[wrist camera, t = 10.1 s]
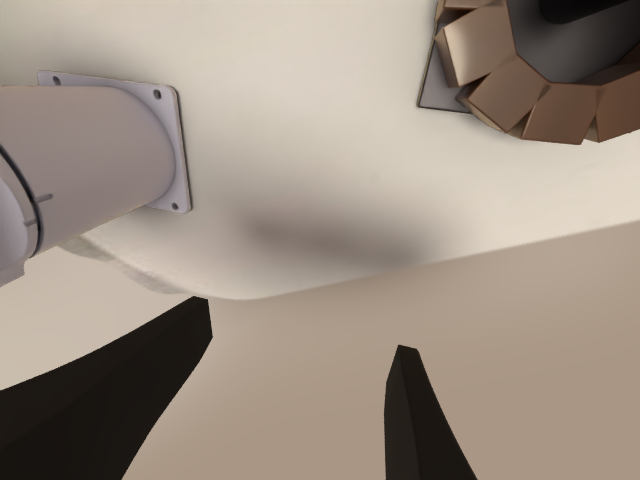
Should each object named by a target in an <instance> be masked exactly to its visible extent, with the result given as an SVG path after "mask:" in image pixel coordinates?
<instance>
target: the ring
mask: <svg viewBox="0 0 640 480" xmlns="http://www.w3.org/2000/svg"><path fill="white" fill-rule="evenodd" d="M435 22H436V23H449V24H447V25H445V26H444V27H443V28H442V29H441V30H440V31H439V33H438V34H437V35H436V37H435V42H436V46H437V49H438V53H439V57H440V60H441V64H442V68H443V71H444V75H445V79H446V82H447V86H448V88H460V87H462V86H464V85H465V86H464V87H463V89H462V90H461V91H460V92H459V93H458V94H457V96H456V97H455V98H456V100H457V101H459V102H460V103H461V104H462V105H463V106H465V107H466V108H467V109H468V110H470V111H471V112H472V113H473V114H474V115H476V116H477V117H478V118H479V119H480V120H482V121H483V122H484V123H485V124H486V125H488V126H489V127H492V128H494V129H497V130H499V131H502V132H504V133H507V134H509V135H512V136H514V137H517V138H519V139H522V140H532V141H542V142H552V143H562V144H572V145H581V143H582V142H583V139H587V140H590V141H594V142H598V143H600V142H603V141H606V140H609V139H612V138H615V137H618V136H621V135H624V134H627V133H629V132H632V131H635V130H638V129H640V43H639V44H638V45H637V46H636V47H635V48H634V49H633V50H631V51H630V52H629V53H628V54H627V55H626V56H625V57H624V58H623V59H622V60H621V61H620V62H618V63H617V64H616V65H614V66H612V67H610V68H607V69H605V70H602V71H600V72H597V73H595V74H593V75H590V76H588V77H585V78H583V79H581V80H578V81H576V82H573V83H563V82H550V81H548V80H547V79H546V78H545V77H544V76H543V75H542V74H540V73H539V72H538V71H537V70H536V69H535V68H534V67H532V66H531V65H530V64H529V63H528V62H527V61H525V60H524V59H523V58H522V57H521V56H520V55H519V54H517V52H516V46H515V41H514V36H513V30H512V25H511V20H510V14H509V9H508V4H507V0H439V2H438V6H437V11H436V16H435Z"/></svg>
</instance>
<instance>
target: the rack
mask: <svg viewBox="0 0 640 480" xmlns="http://www.w3.org/2000/svg"><path fill="white" fill-rule="evenodd" d="M507 4H508V9H509V14H510V20H511V25H512V30H513V36H514V41H515V46H516V52H517V54H519V55H520V56H521V57H522V58H523V59H524V60H525V61H527V62H528V63H529V64H530V65H531V66H532V67H534V68H535V69H536V70H537V71H538V72H539V73H540V74H542V75H543V76H544V77H545V78H546V79H547V80H548V81H550V82H563V83H573V82H576V81H578V80H581V79H583V78H585V77H588V76H590V75H593V74H595V73H597V72H600V71H602V70H605V69H607V68H610V67H612V66H614V65H616V64H617V63H618V62H620V61H621V60H622V59H623V58H624V57H625V56H626V55H627V54H628V53H629V52H630V51H631V50H633V49H634V48H635V47H636V46H637V45H638V44H639V43H640V0H507ZM447 24H449V23H436V26H435V30H434V35H433V39H432V43H431V47H430V51H429V55H428V60H427V64H426V68H425V72H424V76H423V81H422V85H421V89H420V93H419V97H418V101H417V106H418V107H419V108H427V109H435V110H443V111H452V112H460V113H468V114H473V113H472V112H471V111H470V110H468V109H467V108H466V107H465V106H463V105H462V104H461V103H460V102H459V101H457V100H456V98H455V97H456V96H457V94H458V93H459V92H460V91H461V90H462V89H463V87H464V86H465V85H464V86H462V87H460V88H448V86H447V82H446V79H445V75H444V71H443V68H442V64H441V60H440V57H439V53H438V49H437V46H436V42H435V37H436V35H437V34H438V33H439V31H440V30H441V29H442V28H443V27H444V26H445V25H447ZM629 133H631V132H629Z"/></svg>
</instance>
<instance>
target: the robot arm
mask: <svg viewBox="0 0 640 480" xmlns="http://www.w3.org/2000/svg"><path fill="white" fill-rule="evenodd" d="M37 79H38V82H39V85H40V86H0V287H1V286H3V285H5V284H7V283H9V282H11V281H13V280H15V279H17V278H19V277H21V276H23V275H24V262H25V261H26V260H27V259H28V258H31V257H33V256H35V255H37V254H39V253H42V252H44V251H46V250H48V249H50V248H53V247H55V246H57V245H59V244H61V243H63V242H65V241H68V240H70V239H72V238H74V237H76V236H78V235H80V234H83V233H85V232H87V231H89V230H91V229H93V228H95V227H98V226H100V225H102V224H104V223H106V222H108V221H110V220H113V219H115V218H117V217H119V216H121V215H123V214H125V213H128V212H130V211H132V210H134V209H136V208H138V207H140V206H146V207H151V208H156V209H161V210H166V211H171V212H176V213H181V214H186V213H188V212H189V211H190V210H191V204H190V196H189V188H188V181H187V173H186V165H185V157H184V149H183V142H182V134H181V126H180V118H179V111H178V103H177V96H176V93H175V91H174V89H173V88H171V87H170V86H165V85H158V84H150V83H142V82H134V81H126V80H118V79H111V78H103V77H95V76H87V75H79V74H72V73H64V72H56V71H48V70H39V71H38V72H37ZM158 91H160V92H161V98H160V97H159V95H158ZM175 203H176V204H177V205H178V207H177V206H176V204H175ZM212 338H213V336H212V328H211V320H210V313H209V305H208V299H204V298H200V297H196V296H193V297H191V298H189V299H187V300H185V301H184V302H182V303H180V304H178V305H177V306H175V307H173V308H172V309H170V310H168V311H166V312H165V313H163V314H161V315H160V316H158V317H156V318H154V319H153V320H151V321H149V322H147V323H146V324H144V325H142V326H140V327H139V328H137V329H135V330H133V331H131V332H130V333H128V334H126V335H124V336H122V337H120V338H118V339H116V340H114V341H113V342H111V343H109V344H107V345H105V346H103V347H101V348H100V349H97V350H95V351H93V352H91V353H89V354H87V355H85V356H83V357H81V358H79V359H76V360H74V361H72V362H69V363H68V364H65V365H63V366H61V367H58V368H56V369H54V370H51V371H49V372H46V373H44V374H42V375H39V376H36V377H34V378H32V379H29V380H26V381H24V382H21V383H19V384H16V385H14V386H11V387H9V388H6V389H4V390H0V480H121V479H122V478H123V476H124V474H125V473H126V470H127V469H128V467H129V466H130V464H131V462H132V460H133V459H134V457H135V455H136V454H137V452H138V450H139V449H140V447H141V445H142V444H143V442H144V440H145V439H146V437H147V435H148V434H149V432H150V431H151V429H152V428H153V426H154V425H155V423H156V422H157V420H158V418H159V417H160V416H161V415H162V413H163V412H164V410H165V409H166V408H167V406H168V405H169V403H170V402H171V401H172V399H173V398H174V397H175V395H176V394H177V392H178V391H179V389H180V388H181V387H182V385H183V384H184V383H185V381H186V380H187V379H188V377H189V376H190V374H191V373H192V371H193V370H194V369H195V367H196V366H197V364H198V363H199V361H200V360H201V358H202V356H203V354H204V353H205V351H206V349H207V347H208V345H209V343H210V341H211V340H212ZM384 429H385V430H384V431H385V465H386V480H477V478H476V476H475V474H474V472H473V471H472V469H471V467H470V465H469V464H468V461H467V460H466V458H465V456H464V454H463V452H462V450H461V448H460V446H459V444H458V442H457V440H456V438H455V436H454V434H453V432H452V430H451V428H450V426H449V424H448V422H447V420H446V418H445V415H444V413H443V411H442V409H441V407H440V405H439V402H438V400H437V398H436V395H435V393H434V391H433V388H432V386H431V384H430V381H429V379H428V376H427V373H426V371H425V368H424V365H423V363H422V360H421V357H420V354H419V352H418V350H417V349H415V348H411V347H407V346H403V345H398V348H397V351H396V354H395V357H394V360H393V363H392V366H391V369H390V372H389V375H388V379H387V382H386V394H385V407H384Z"/></svg>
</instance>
